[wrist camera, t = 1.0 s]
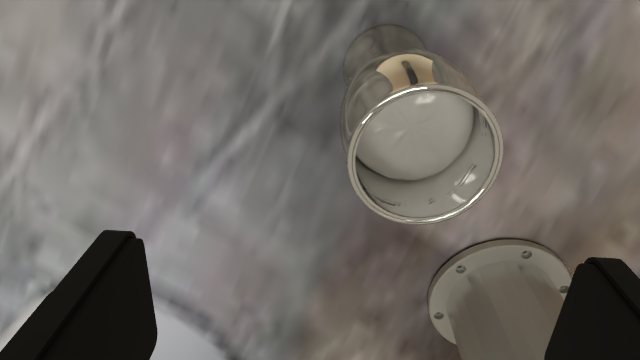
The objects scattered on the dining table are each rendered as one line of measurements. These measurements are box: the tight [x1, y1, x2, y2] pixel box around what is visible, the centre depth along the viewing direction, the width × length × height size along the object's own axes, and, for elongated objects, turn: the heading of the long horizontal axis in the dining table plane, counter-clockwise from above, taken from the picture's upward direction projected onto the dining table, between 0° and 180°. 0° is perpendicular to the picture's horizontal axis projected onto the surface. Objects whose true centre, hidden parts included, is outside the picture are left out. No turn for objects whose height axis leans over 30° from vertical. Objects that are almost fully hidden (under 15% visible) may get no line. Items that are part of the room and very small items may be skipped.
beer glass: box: [340, 25, 504, 225], centre depth 26 cm, size 7×7×15 cm
